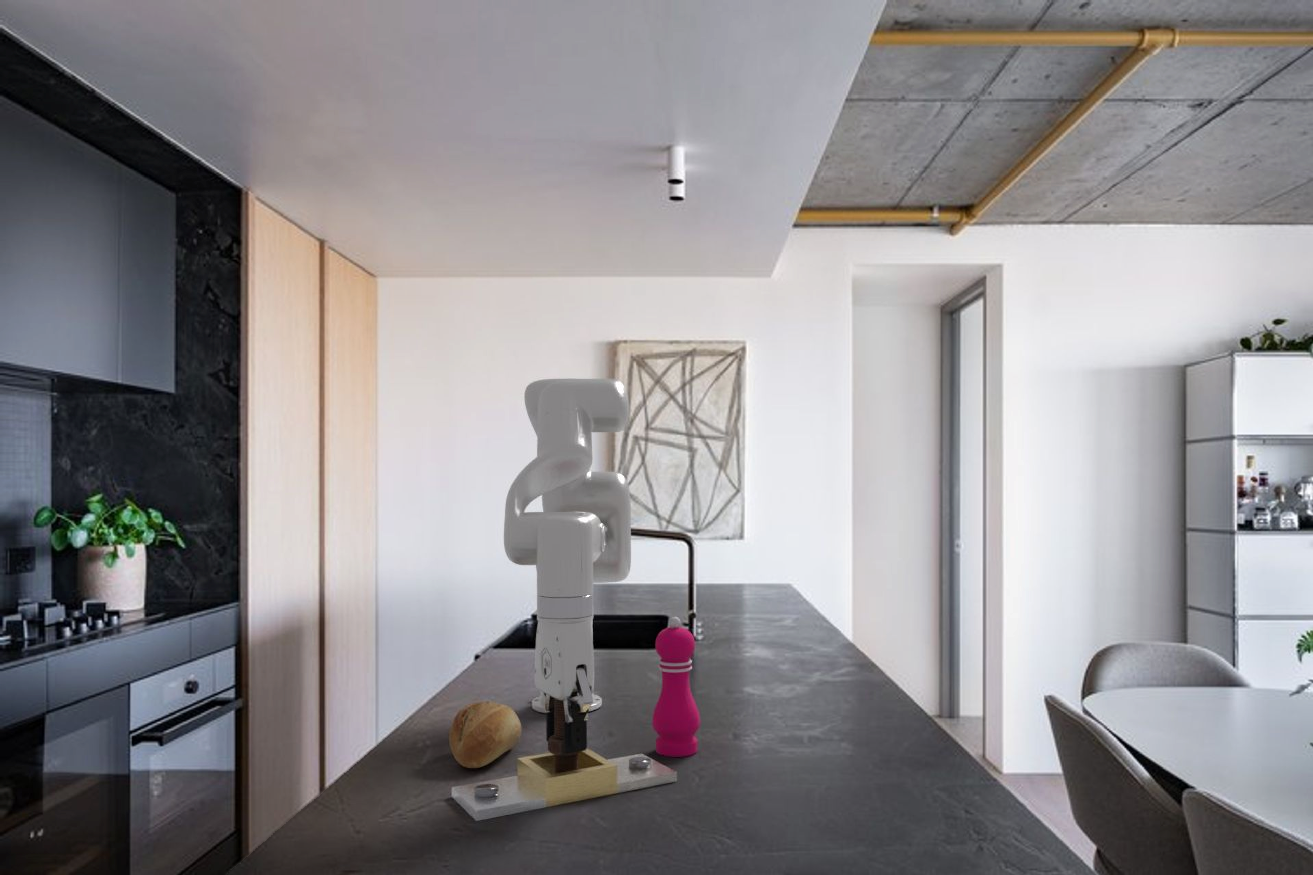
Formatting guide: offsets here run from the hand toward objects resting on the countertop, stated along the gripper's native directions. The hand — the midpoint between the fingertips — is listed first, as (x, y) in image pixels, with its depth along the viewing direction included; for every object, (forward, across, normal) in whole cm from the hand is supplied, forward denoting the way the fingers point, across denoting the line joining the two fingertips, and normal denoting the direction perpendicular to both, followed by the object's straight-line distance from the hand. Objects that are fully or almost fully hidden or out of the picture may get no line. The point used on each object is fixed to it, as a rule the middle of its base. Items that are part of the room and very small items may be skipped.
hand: (566, 744), depth 122 cm
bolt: (+5, 0, 0) cm, 5 cm away
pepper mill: (+6, -7, +21) cm, 23 cm away
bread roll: (+6, -19, -5) cm, 20 cm away
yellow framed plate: (+6, 0, 0) cm, 6 cm away
